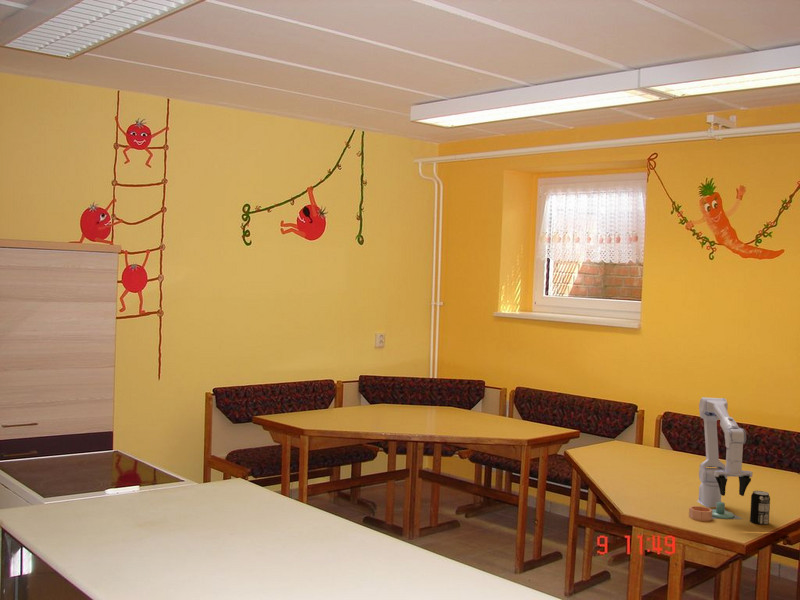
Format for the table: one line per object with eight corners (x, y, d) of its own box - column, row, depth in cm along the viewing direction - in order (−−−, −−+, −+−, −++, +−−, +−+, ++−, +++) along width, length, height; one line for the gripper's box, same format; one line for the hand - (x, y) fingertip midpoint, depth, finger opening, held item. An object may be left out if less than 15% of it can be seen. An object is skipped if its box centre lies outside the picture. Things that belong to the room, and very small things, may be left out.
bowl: (686, 516, 317) (686, 505, 317) (705, 516, 318) (705, 506, 318) (695, 522, 309) (695, 511, 309) (714, 522, 310) (715, 511, 310)
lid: (701, 511, 323) (702, 499, 323) (726, 511, 324) (726, 499, 324) (714, 518, 313) (714, 506, 313) (738, 518, 314) (739, 506, 314)
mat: (697, 510, 326) (697, 508, 326) (725, 510, 327) (725, 509, 327) (712, 520, 313) (712, 518, 313) (742, 520, 314) (742, 518, 314)
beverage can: (752, 520, 315) (754, 489, 315) (770, 523, 311) (772, 492, 311) (747, 523, 310) (749, 492, 310) (765, 527, 306) (767, 495, 306)
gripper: (721, 462, 308) (719, 497, 309) (757, 462, 310) (755, 498, 310) (712, 457, 315) (710, 492, 316) (747, 458, 317) (745, 493, 317)
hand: (732, 495), depth 313 cm, fingers open, 7 cm apart
